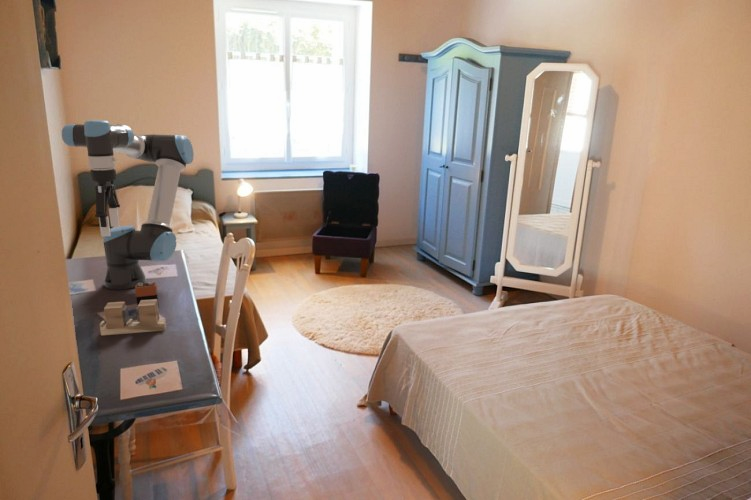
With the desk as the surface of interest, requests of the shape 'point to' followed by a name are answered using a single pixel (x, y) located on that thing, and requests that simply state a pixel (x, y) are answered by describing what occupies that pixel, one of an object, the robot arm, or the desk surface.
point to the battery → (146, 291)
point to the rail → (132, 328)
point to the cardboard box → (116, 315)
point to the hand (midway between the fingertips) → (110, 231)
